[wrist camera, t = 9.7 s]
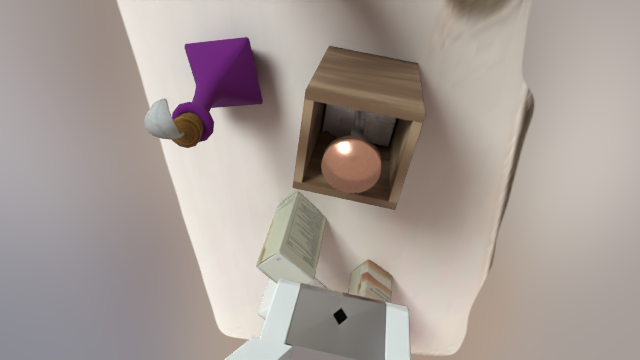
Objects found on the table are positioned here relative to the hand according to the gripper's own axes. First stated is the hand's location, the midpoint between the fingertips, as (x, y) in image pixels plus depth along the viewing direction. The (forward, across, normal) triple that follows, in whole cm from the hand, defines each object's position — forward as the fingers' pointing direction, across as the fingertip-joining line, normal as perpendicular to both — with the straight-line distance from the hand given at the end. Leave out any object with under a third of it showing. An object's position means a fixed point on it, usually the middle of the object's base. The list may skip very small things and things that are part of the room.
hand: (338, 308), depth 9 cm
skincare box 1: (+39, +5, +29) cm, 49 cm away
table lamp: (+36, 0, +10) cm, 37 cm away
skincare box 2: (+39, -7, +38) cm, 55 cm away
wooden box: (+39, 0, +10) cm, 40 cm away
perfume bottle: (+39, +16, +9) cm, 43 cm away
